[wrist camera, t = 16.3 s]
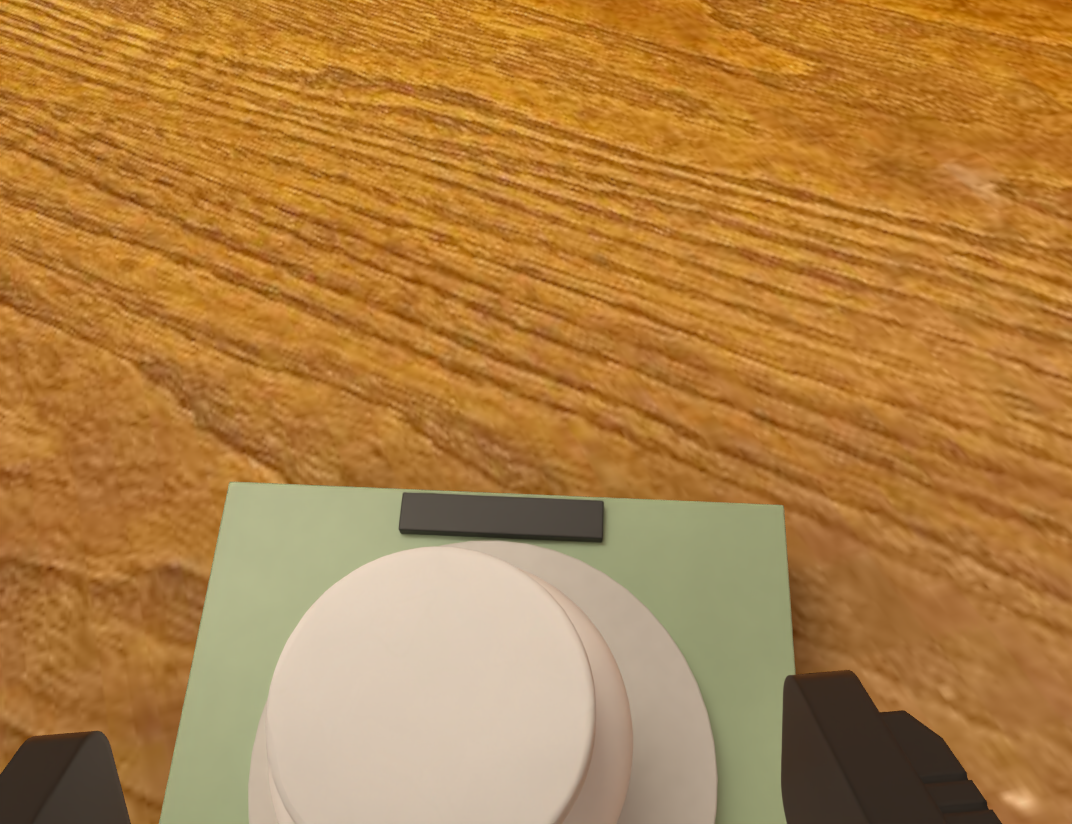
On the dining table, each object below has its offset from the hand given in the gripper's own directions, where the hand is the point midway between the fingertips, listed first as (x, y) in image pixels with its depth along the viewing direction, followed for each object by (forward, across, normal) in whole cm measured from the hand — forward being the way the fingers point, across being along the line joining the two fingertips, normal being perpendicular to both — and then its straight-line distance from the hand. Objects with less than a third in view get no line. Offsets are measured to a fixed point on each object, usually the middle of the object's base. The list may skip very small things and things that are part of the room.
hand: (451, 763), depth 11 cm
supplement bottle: (+7, 0, +6) cm, 10 cm away
